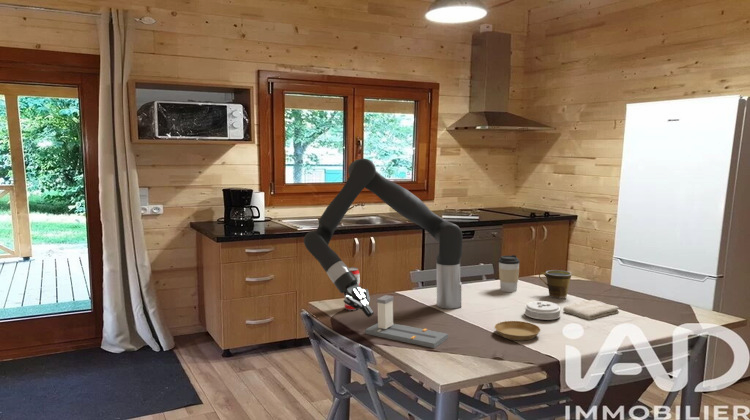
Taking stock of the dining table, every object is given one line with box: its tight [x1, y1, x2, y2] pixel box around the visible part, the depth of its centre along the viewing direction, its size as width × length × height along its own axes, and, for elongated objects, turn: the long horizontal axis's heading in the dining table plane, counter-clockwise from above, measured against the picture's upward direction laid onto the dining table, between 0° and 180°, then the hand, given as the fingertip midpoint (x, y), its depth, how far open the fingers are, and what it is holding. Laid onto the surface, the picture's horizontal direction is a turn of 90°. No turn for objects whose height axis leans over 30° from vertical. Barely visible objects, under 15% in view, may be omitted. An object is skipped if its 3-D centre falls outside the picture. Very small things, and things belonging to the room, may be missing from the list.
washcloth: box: [562, 299, 620, 321], centre depth 197 cm, size 12×18×3 cm, turn 121°
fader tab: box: [376, 294, 395, 329], centre depth 180 cm, size 3×5×10 cm, turn 147°
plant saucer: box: [494, 320, 541, 342], centre depth 175 cm, size 15×15×3 cm
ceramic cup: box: [538, 269, 572, 300], centre depth 219 cm, size 13×10×10 cm
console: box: [365, 322, 449, 349], centre depth 176 cm, size 26×10×2 cm, turn 57°
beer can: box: [343, 266, 361, 311], centre depth 206 cm, size 6×6×16 cm
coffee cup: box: [497, 254, 520, 293], centre depth 229 cm, size 9×9×15 cm
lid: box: [524, 300, 562, 321], centre depth 194 cm, size 13×13×5 cm
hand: (371, 315), depth 183 cm, fingers closed
